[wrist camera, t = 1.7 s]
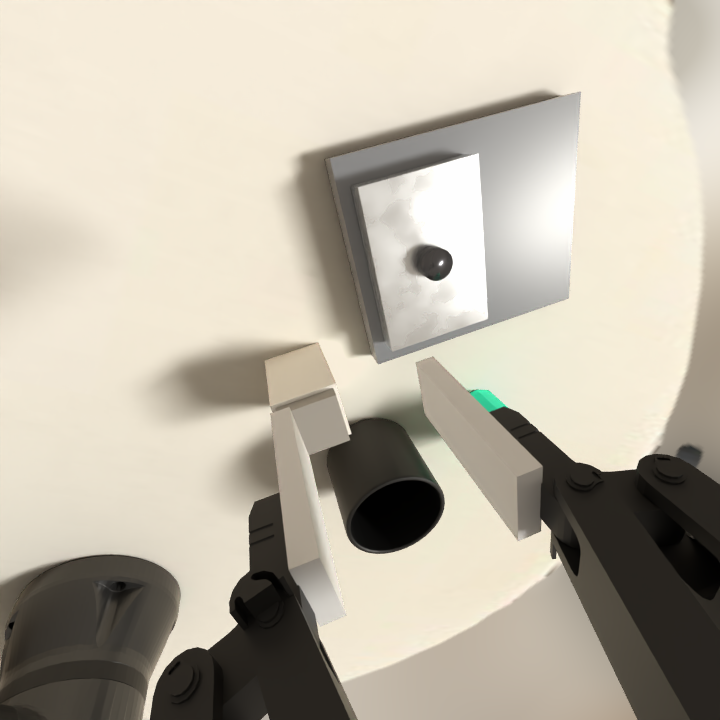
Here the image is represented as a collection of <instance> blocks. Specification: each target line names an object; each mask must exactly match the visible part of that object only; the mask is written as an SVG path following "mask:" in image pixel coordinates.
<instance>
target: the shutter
mask: <svg viewBox="0 0 720 720" xmlns="http://www.w3.org/2000/svg"><path fill="white" fill-rule="evenodd" d="M351 190H352V194H353V199H354V204H355V208H356V213H357V217H358V222H359V227H360V231H361V236H362V240H363V245H364V250H365V254H366V259H367V264H368V268H369V273H370V277H371V282H372V287H373V291H374V296H375V300H376V305H377V310H378V314H379V319H380V323H381V328H382V333H383V337H384V342H385V343H386V345H387V346H388V347H389V348H390V350H391V351H392V352H393V351H396V350H399V349H402V348H405V347H408V346H411V345H413V344H416V343H419V342H422V341H425V340H428V339H431V338H434V337H437V336H440V335H443V334H445V333H448V332H451V331H454V330H457V329H460V328H463V327H466V326H469V325H472V324H475V323H477V322H480V321H483V320H486V319H488V310H487V293H486V276H485V259H484V242H483V224H482V207H481V190H480V173H479V155H478V154H463V155H460V156H456V157H452V158H449V159H445V160H442V161H438V162H435V163H431V164H427V165H424V166H420V167H417V168H413V169H409V170H406V171H402V172H399V173H395V174H392V175H388V176H384V177H381V178H377V179H374V180H370V181H367V182H363V183H359V184H356V185H352V186H351Z"/></svg>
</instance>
